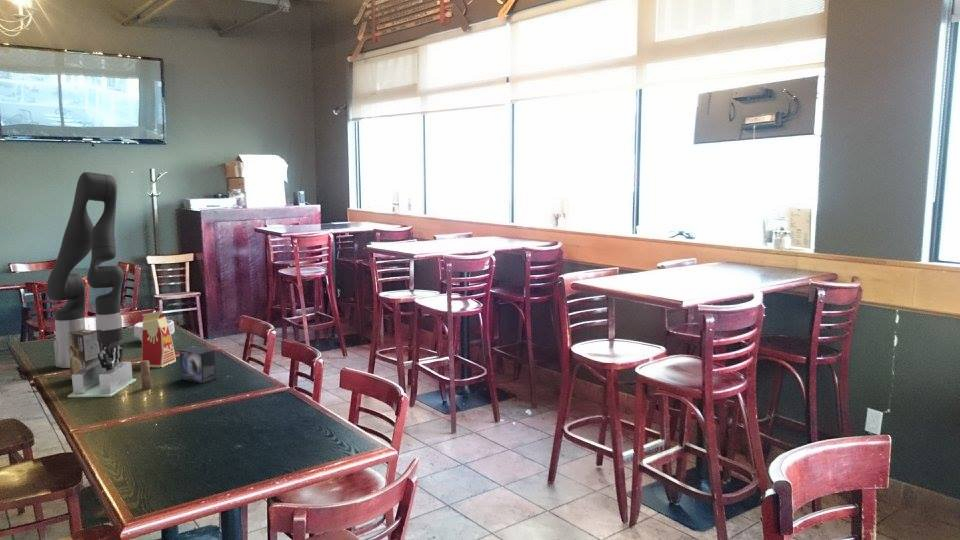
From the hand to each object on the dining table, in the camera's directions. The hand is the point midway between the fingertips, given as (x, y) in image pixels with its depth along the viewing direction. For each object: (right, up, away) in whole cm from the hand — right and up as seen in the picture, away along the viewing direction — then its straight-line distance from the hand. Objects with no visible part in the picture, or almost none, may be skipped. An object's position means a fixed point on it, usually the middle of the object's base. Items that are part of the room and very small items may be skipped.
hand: (112, 377), depth 232 cm
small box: (+27, -1, +4) cm, 27 cm away
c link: (0, -2, -6) cm, 7 cm away
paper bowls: (-14, +6, +60) cm, 61 cm away
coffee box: (-11, -1, +5) cm, 12 cm away
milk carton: (+4, +1, +24) cm, 24 cm away
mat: (0, -2, -6) cm, 7 cm away
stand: (+14, -2, -7) cm, 16 cm away
